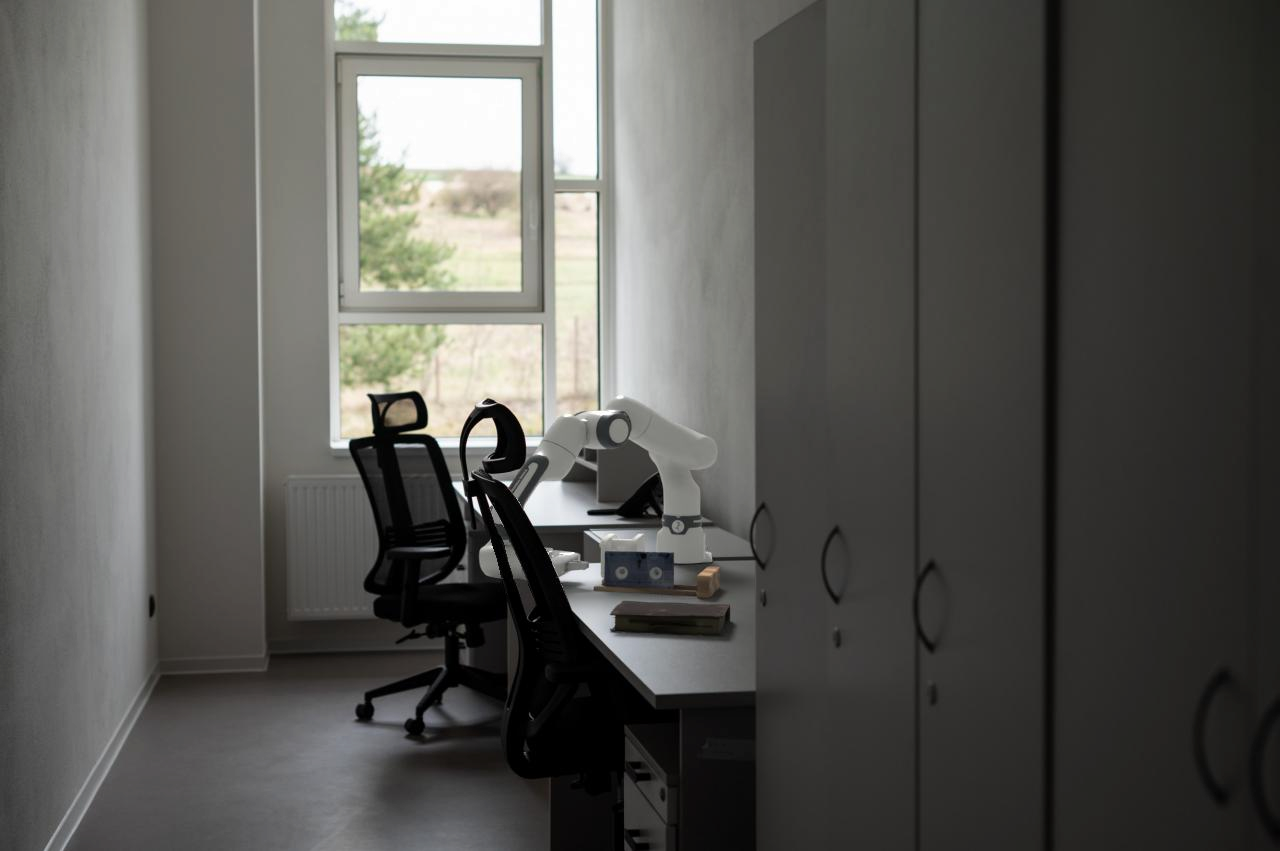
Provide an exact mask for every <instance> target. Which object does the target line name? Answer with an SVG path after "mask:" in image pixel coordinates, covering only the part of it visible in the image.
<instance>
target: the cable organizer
mask: <svg viewBox="0 0 1280 851" xmlns="http://www.w3.org/2000/svg"><path fill="white" fill-rule="evenodd" d="M645 545H646V538H645V533H637V534H636V535H635V536H634V537H633V538H632V539H625V538H624V539H623V538H617V534H616V533H608V534H606V535H605V536H604V537H602V539H601V540H600V541H599V545H598V546H599V548H600V577H601V579H602V578H603V579H604V570H605V569H604V566H605V551H620V552H623V551H627V552H646V551H645V550H646V546H645Z"/></svg>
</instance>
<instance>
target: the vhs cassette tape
mask: <svg viewBox="0 0 1280 851" xmlns="http://www.w3.org/2000/svg"><path fill="white" fill-rule="evenodd" d="M604 569H605V570H604V578H603V581H604V585H603V586H611V587H631V588H652V589H672V590H675V589H674V584H675V563H674V552H671V553H669V552H656V551H645V552H627V551H623V552H620V551H605V566H604Z"/></svg>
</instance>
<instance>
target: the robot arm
mask: <svg viewBox="0 0 1280 851" xmlns="http://www.w3.org/2000/svg"><path fill="white" fill-rule="evenodd" d="M628 440H629V441H631V442H633V443H635V444H636V445H638V446H640V447H641V448H643V449H644V450H646V451H648V456H649V458H650V459H651V461H652V462H653V463H654V464H655V466H656V467H657V470H658V473H659V476H660V479H661V483H662V489H663V513H662V514H661V515H662V516H661V526H662V528H661V529H660V530H659V531H657V535H656V546H655V549H656V550H655V552H669V553H671V552H674V564H683V565H684V564H685V565H686V564H699V563H712V562H713V556H712V552H711V551H710V552H709V551H708V549H709V547H708V545H706V533H705V532H704V531H703V528H702V525H703V517H702V514H701V489H700V486H699V485H698V484H697V483H696V481H695V480H694V478H693V476H692V473H691V472H692V471H693V470H694V471H697V470H703V469H709V468H710V467H712V466H713V465H714V463H715V462H716V460H717V459H718V455H719V454H718V453H719V452H718V450H719V449H718V445H717V443H716V441H715V440H714V439H713V437H711V436H707V435H706V434H703V433H700V432H697V431H695V430H694V429H692V428H690V427H688V426H686V425H683V424H680V423H678V422H676V421H673V420H671V419H669V418H667V417H665V416H663V415H662V414H660V413H658V412H657V411H655V410H654V409H652V408H651V407H649V406H647V405H646V404H645V403H642V402H640V401H638V400H636V399H634V398H631V397H629V396H626V395H617V396H615V397H613V398H612V399H611V400H610V401H608V403H607V405H606V407H605V410H592V411H591V410H589V411H588V410H582V411H578V412H576V413H574V414H569V413H568V414H562V415H560V416H558V417H557V419H556V420H555V421H553V423H552V425H551V426H550V427H549V428H548V429H547V431H546V433H545V435H544V436H543V437H542V440H541V441H540V443H539V444H538V446H537V447H536V450H535V451H534V453H533V454H532V455H531V456H530V457H529V458H528V459H527V460H526V461H525V462H524V464H523V465H522V467H521V468H520V469H519V471H518V472H517V474H516V475H515V477H514V478H513V480H512V481H511V483H510V484H509V486H508V487H507V489H508V488H509V489H510V490H511V492H512V493H513V494H514V496H515V497H516V498H517V499H518V501H519V502H520V504H521V506H522V508H523V509H524V510H525V506H526V504H527V503H528V501H529V499H530V498H531V496H532V494H533V493H534V492H535V490H536V489H537V487H538V486H539V485H540V484H541V483H542V482H545V481H547V482H557V481H561V480H563V479H564V478H565V477H566V476H567V475H568V474H569V473H570V471H571V470H572V468H573V467H574V465H575V463H576V461H577V458H578V457H579V455H580V452H581V450H582V449H590V450H615V449H618V448H621V447H623V446H624V445H625V444H626V443H627V442H628ZM691 470H692V471H691ZM489 508H490V509H491V513H492V515H493V519H494V522H495V525H496V528H497V530H498V532H499V535H500V536H501V538H502V540H503V542H504V545H505V550H506V554H507V557H508V562H509V565H510V568H511V571H512V574H513V579H522V580H527V579H526V577H525V574H524V572H523V570H522V567H521V564H520V562H519V560H518V558H517V556H516V554H515V551H514V549H513V547H512V545H511V543H510V542H509V540H508V538H507V535H506V532H505V529H504V527H503V525H502V523H501V521H500V519H499V517H498V515H497V513H496V511H495V509H494V508H493V506H492V504H491V505H490V506H489ZM544 548H545V549H546V551H547V553H548V555H549V557H550V559H551V561H552V564H553V565H554V567H555V570H556V572H557V574H558V577H557V578H561V577H563V576H564V575H566V574H568V573H570V572H571V571H585V570H587V569H589V568H590V563H589V561H583V560H581V553H578V552H573V551H564V550H556V549H555V550H554V549H553V548H552V547H544ZM478 563H479V567H480V569H481V572H482V573H484V575H486V576H487V577H491V578H497V579H502V578H501V575H500V570H499V566H498V562H497V558H496V555H495V552H494V549H493V546H492V543H491V539H490V540H489V541H488V542H487V543H485V545H484V546H482V547H481V548H480V549H479V553H478ZM527 581H528V580H527Z"/></svg>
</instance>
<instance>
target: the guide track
mask: <svg viewBox="0 0 1280 851" xmlns="http://www.w3.org/2000/svg"><path fill="white" fill-rule="evenodd" d="M720 570H721V566H710V565H709V566H707V567H706V568H704V569H703V570H702V571H701V572H700V573H698V574H697V575H696V579H697V580H696V582H697V583H696V584H684V583H683V584H681V583H680V584H678V583H674V590H672V589H652V588H631V587H611V586H604V580H602V581H601V585H593V591H595V592H597V591H598V592H599V591H600V592H616V593H617V592H618V593H620V592H621V593H639V594H655V595H656V594H658V595H659V594H660V595H677V596H680V595H681V596H696V598H697V599H710V598H711V597H712V596H713V595H714V594H715V593H716V592H717V591H718V590H719V589H720Z"/></svg>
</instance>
